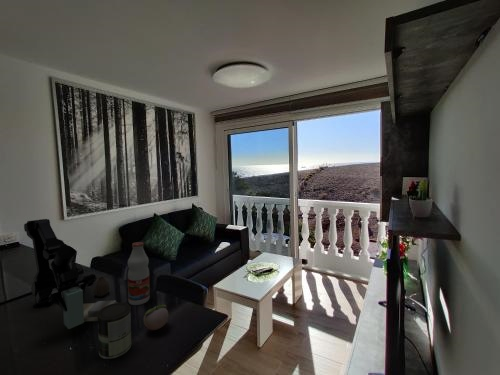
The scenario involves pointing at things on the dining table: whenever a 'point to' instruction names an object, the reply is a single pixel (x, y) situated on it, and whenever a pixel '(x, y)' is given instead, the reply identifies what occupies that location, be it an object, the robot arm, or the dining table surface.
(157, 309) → the decorative fruit
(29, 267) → the dining table surface
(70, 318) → the pillar
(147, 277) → the fruit juice
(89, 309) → the board
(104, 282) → the vase
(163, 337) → the dining table surface
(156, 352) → the dining table surface
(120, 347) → the coffee can
